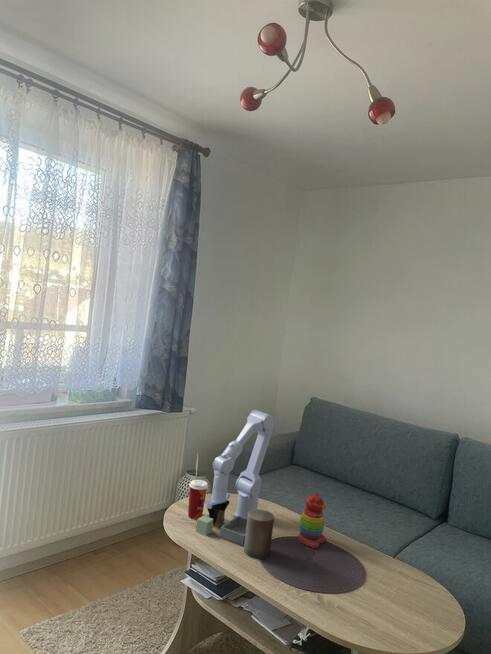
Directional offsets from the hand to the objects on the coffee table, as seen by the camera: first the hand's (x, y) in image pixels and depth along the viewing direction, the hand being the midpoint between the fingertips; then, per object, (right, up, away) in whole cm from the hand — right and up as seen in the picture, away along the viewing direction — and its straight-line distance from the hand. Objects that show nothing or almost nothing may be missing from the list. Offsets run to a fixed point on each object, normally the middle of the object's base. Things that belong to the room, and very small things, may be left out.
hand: (216, 520), depth 192 cm
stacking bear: (+37, -6, -4) cm, 38 cm away
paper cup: (-9, 0, +5) cm, 10 cm away
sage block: (-4, -1, -7) cm, 9 cm away
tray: (+9, -3, -7) cm, 12 cm away
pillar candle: (+16, -4, -18) cm, 24 cm away
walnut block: (0, -1, 0) cm, 1 cm away
